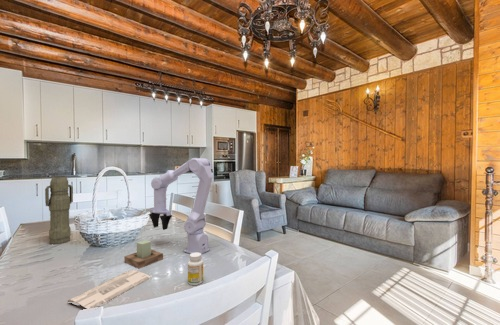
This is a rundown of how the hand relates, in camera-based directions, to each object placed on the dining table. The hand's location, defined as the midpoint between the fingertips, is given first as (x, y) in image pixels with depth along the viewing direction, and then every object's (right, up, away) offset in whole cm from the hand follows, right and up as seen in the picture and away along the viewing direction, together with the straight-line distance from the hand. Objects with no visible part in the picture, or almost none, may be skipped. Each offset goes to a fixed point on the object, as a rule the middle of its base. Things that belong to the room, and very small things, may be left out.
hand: (160, 228), depth 120 cm
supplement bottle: (+26, -9, -36) cm, 46 cm away
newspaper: (-1, -10, -41) cm, 42 cm away
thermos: (-57, -10, +8) cm, 58 cm away
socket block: (0, -9, -18) cm, 20 cm away
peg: (0, -9, -18) cm, 20 cm away
